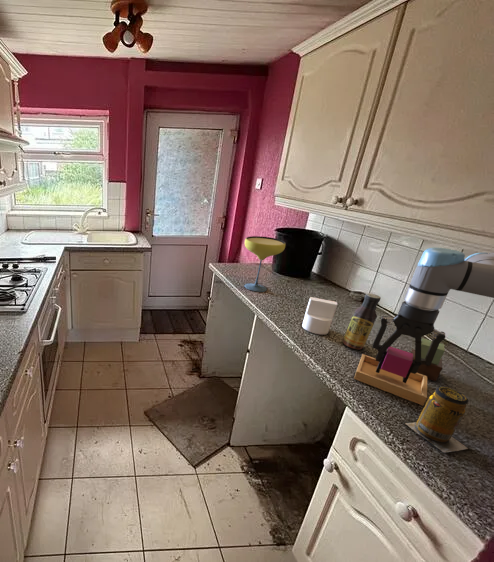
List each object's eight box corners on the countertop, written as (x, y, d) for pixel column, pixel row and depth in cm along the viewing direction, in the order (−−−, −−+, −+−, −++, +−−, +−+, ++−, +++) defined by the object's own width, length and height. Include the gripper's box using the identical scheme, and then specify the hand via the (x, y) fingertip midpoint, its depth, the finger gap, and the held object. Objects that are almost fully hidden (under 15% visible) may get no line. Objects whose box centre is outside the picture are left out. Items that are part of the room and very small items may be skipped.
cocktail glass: (251, 279, 171) (260, 234, 162) (282, 290, 157) (293, 242, 148) (229, 285, 162) (237, 238, 153) (260, 297, 148) (271, 246, 139)
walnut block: (435, 371, 98) (441, 358, 97) (435, 381, 94) (442, 367, 92) (406, 361, 103) (412, 348, 101) (405, 371, 98) (411, 357, 96)
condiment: (427, 420, 79) (447, 382, 75) (468, 449, 71) (492, 408, 67) (404, 424, 78) (423, 385, 73) (443, 453, 70) (466, 412, 65)
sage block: (437, 358, 97) (444, 344, 95) (437, 364, 93) (444, 350, 91) (416, 351, 100) (422, 337, 98) (415, 357, 96) (422, 344, 94)
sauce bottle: (339, 344, 111) (357, 294, 104) (345, 338, 115) (362, 289, 108) (361, 353, 107) (381, 300, 99) (366, 346, 111) (385, 295, 103)
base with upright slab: (327, 326, 124) (335, 299, 119) (329, 336, 116) (338, 308, 112) (301, 320, 127) (309, 294, 123) (302, 330, 120) (310, 302, 116)
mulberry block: (406, 369, 92) (413, 353, 90) (405, 377, 88) (412, 361, 86) (382, 361, 95) (388, 345, 93) (380, 369, 91) (387, 353, 89)
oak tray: (423, 383, 92) (427, 376, 91) (423, 405, 84) (427, 397, 83) (359, 361, 102) (362, 353, 101) (353, 378, 94) (356, 371, 93)
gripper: (469, 312, 81) (433, 384, 89) (379, 291, 92) (355, 357, 101) (471, 321, 75) (433, 397, 84) (376, 298, 87) (351, 367, 95)
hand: (390, 375), depth 92 cm, fingers closed on mulberry block, 5 cm apart
